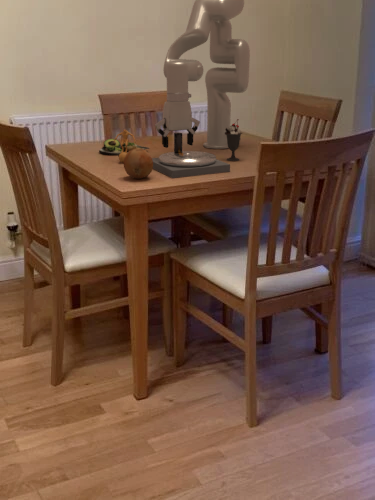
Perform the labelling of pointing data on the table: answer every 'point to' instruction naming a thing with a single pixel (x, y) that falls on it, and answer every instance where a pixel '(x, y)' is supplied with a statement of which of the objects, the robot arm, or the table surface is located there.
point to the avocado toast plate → (117, 147)
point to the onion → (138, 163)
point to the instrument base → (190, 169)
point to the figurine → (125, 136)
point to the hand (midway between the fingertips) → (177, 146)
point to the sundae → (233, 140)
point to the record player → (185, 156)
